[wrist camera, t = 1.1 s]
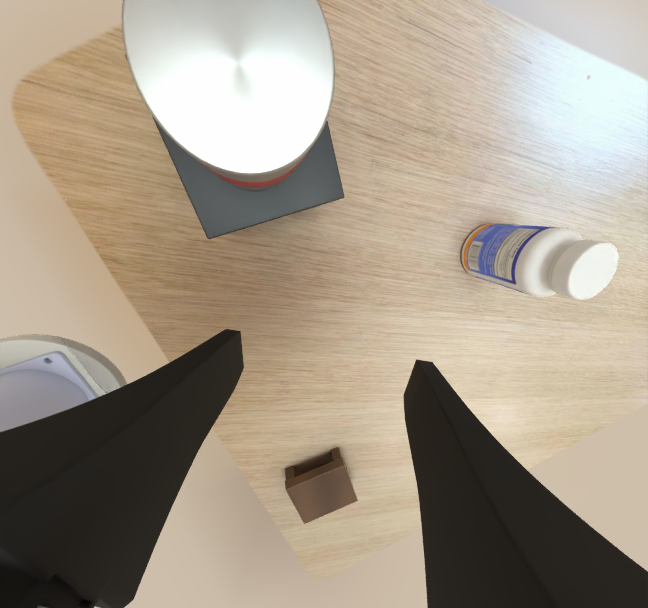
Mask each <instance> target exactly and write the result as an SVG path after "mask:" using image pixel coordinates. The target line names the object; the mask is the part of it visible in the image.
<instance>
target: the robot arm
mask: <svg viewBox="0 0 648 608" xmlns="http://www.w3.org/2000/svg"><path fill="white" fill-rule="evenodd" d="M48 358H50V359H51V360H52V361H50V360H49V359H48ZM243 369H244V365H243V354H242V344H241V333H240V331H235V330H229V329H226V330H224V331H222V332H220V333H219V334H217V335H215V336H214V337H212V338H210V339H209V340H207V341H206V342H204V343H202V344H201V345H199V346H197V347H196V348H194V349H192V350H191V351H189V352H187V353H186V354H184V355H182V356H181V357H179V358H177V359H175V360H174V361H172V362H170V363H168V364H166V365H165V366H163V367H161V368H159V369H157V370H156V371H154V372H152V373H150V374H148V375H146V376H144V377H142V378H140V379H138V380H136V381H134V382H132V383H130V384H127V385H125V386H123V387H121V388H119V389H117V390H114V391H112V392H110V393H107V394H105V395H102V396H100V397H99V396H98V395H97V394H96V393H95V391H94V390H93V389H92V388H91V386H90V385H89V384H88V383H87V382H86V380H85V379H84V378H83V377H82V376H81V374H80V373H79V372H78V371H77V369H76V368H75V367H74V366H73V365H72V363H71V362H70V361H69V360H68V359H67V357H66V356H65V355H64V354H63V353H62V352H60V351H53V352H50V353H47V354H44V355H41V356H38V357H35V358H32V359H29V360H26V361H23V362H20V363H17V364H14V365H11V366H8V367H5V368H2V369H0V608H94V607H95V606H97V607H100V608H124V607H125V606H126V605H128V604H129V603H130V602H131V601H132V600H133V599H134V597H135V595H136V592H137V589H138V586H139V584H140V582H141V579H142V576H143V574H144V572H145V569H146V567H147V564H148V562H149V559H150V557H151V554H152V552H153V549H154V547H155V544H156V542H157V540H158V538H159V535H160V533H161V530H162V528H163V526H164V523H165V521H166V519H167V517H168V514H169V512H170V510H171V507H172V505H173V503H174V501H175V499H176V497H177V494H178V492H179V490H180V488H181V486H182V484H183V481H184V479H185V477H186V475H187V473H188V471H189V469H190V467H191V465H192V463H193V460H194V458H195V456H196V454H197V452H198V450H199V449H200V447H201V445H202V443H203V441H204V439H205V438H206V436H207V434H208V433H209V431H210V430H211V428H212V426H213V425H214V423H215V421H216V420H217V418H218V416H219V415H220V413H221V411H222V410H223V408H224V406H225V405H226V403H227V401H228V399H229V398H230V396H231V394H232V393H233V391H234V389H235V387H236V385H237V383H238V380H239V378H240V376H241V373H242V371H243ZM404 411H405V422H406V428H407V433H408V439H409V444H410V449H411V454H412V460H413V465H414V470H415V476H416V481H417V487H418V494H419V502H420V513H421V523H422V533H423V546H424V558H425V572H426V587H427V603H428V608H648V572H647V571H646V570H645V569H644V568H642V567H641V566H640V565H638V564H637V563H636V562H634V561H633V560H632V559H630V558H629V557H628V556H627V555H625V554H624V553H623V552H621V551H620V550H619V549H618V548H617V547H615V546H614V545H613V544H612V543H610V542H609V541H608V540H607V539H605V538H604V537H603V536H602V535H600V534H599V533H598V532H597V531H595V530H594V529H593V528H592V527H591V526H589V525H588V524H587V523H586V522H585V521H583V520H582V519H581V518H580V517H579V516H578V515H576V514H575V513H574V512H573V511H571V510H570V509H569V508H568V507H567V506H566V505H565V504H563V503H562V502H561V501H560V500H559V499H558V498H557V497H555V495H553V494H552V493H551V492H550V491H549V490H548V489H546V487H544V486H543V485H542V484H541V483H540V482H539V481H538V480H537V479H536V478H535V477H533V476H532V475H531V474H530V473H529V472H528V471H527V470H526V469H525V468H524V467H523V466H522V465H521V464H520V463H519V462H518V461H517V460H516V459H515V458H514V457H513V456H512V455H511V454H510V453H509V452H508V451H507V450H506V449H505V448H504V447H503V446H502V445H501V444H500V443H499V442H498V441H497V440H496V439H495V438H494V437H493V435H492V434H491V433H490V432H489V431H488V430H487V429H486V428H485V427H484V425H483V424H482V423H481V422H480V421H479V420H478V419H477V418H476V416H475V415H474V414H473V413H472V412H471V411H470V409H469V408H468V407H467V406H466V405H465V403H464V402H463V401H462V400H461V398H460V397H459V396H458V395H457V393H456V392H455V391H454V390H453V388H452V387H451V386H450V384H449V383H448V382H447V381H446V379H445V378H444V377H443V375H442V374H441V373H440V371H439V370H438V369H437V368H436V366H435V365H434V364H433V362H428V361H422V360H416V362H415V365H414V368H413V370H412V373H411V376H410V379H409V382H408V385H407V387H406V390H405V393H404Z"/></svg>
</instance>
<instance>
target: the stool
mask: <svg viewBox="0 0 648 608" xmlns="http://www.w3.org/2000/svg"><path fill="white" fill-rule="evenodd" d="M331 454H332V457H333V462H330V463H328V464H325V465H323V466H321V467H318V468H316V469H313V470H311V471H308V472H306V473H304V474H301V475H299V476H296V471H295V469H294V467H293V466H291V467H289V468H287V469H285V473H286V481H285V487H286V491H287V493H288V495H289V496H290V498H291V500H292V502H293V504H294V506H295V508H296V509H297V511H298V513H299V515H300V517H301V519H302V520H303V522H304V524H305V523H308V522H310V521H312V520H315V519H317V518H319V517H322V516H324V515H326V514H328V513H331V512H333V511H335V510H338V509H340V508H342V507H345V506H347V505H349V504H351V503H354V502H356V501H358V500H357V497H356V494H355V491H354V488H353V485H352V483H351V480H350V477H349V475H348V472H347V469H346V466H345V464H344V461H343V458H342V457H341V454H340V451H339V448H336V449H333V450H331Z"/></svg>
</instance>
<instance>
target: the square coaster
mask: <svg viewBox="0 0 648 608" xmlns="http://www.w3.org/2000/svg"><path fill="white" fill-rule="evenodd" d="M125 56H126V55H125ZM126 59H127V57H126ZM153 119H154V117H153ZM154 121H155V123H156V125H157V128H158V130H159V132H160V134H161V136H162V139H163V141H164V143H165V145H166V147H167V150H168V152H169V154H170V156H171V158H172V161H173V163H174V165H175V167H176V170H177V172H178V174H179V176H180V178H181V181H182V183H183V185H184V187H185V189H186V192H187V194H188V196H189V198H190V201H191V203H192V205H193V207H194V209H195V212H196V214H197V216H198V218H199V220H200V223H201V225H202V227H203V229H204V232H205V234H206V236H207V238H208V239H212V238H215V237H218V236H221V235H225V234H228V233H231V232H234V231H238V230H241V229H244V228H247V227H251V226H254V225H257V224H260V223H264V222H267V221H270V220H273V219H277V218H280V217H283V216H286V215H290V214H293V213H296V212H299V211H303V210H306V209H309V208H313V207H316V206H319V205H322V204H326V203H329V202H332V201H335V200H339V199H342V198H344V193H343V189H342V184H341V180H340V175H339V171H338V166H337V162H336V158H335V153H334V149H333V144H332V140H331V135H330V131H329V126H328V122H327V121H326V123H325V126H324V128H323V130H322V132H321V134H320V135H319V137H318V139H317V140H316V142H315V143H314V144H313V146H312V147H311V148H310V150H309V151H308V153H307V154H306V156H305V157H304V158H303V160H302V161H301V162H300V164H299V165H298V166H297V168H296V169H295V170H294V171H293V172H292V173H291V175H290V176H289V177H288V178H287V179H286V180H285V181H284V182H283V183H281V184H280V185H278V186H276V187H275V188H272V189H269V190H265V191H248V190H243V189H240V188H237V187H235V186H233V185H231V184H230V183H228V182H227V181H225V180H224V179H222V178H221V177H219V176H218V175H216V174H215V173H213V172H212V171H211V170H209V169H208V168H206V167H205V166H204V165H202V164H201V163H200V162H199V161H198V160H196V159H195V158H194V157H192V156H191V155H190V154H188V153H187V152H186V151H185V150H183V149H182V148H181V147H180V146H179V145H177V144H176V143H175V142H174V141H173V140H172V139H171V138H170V137H169V136H168V135H167V134H166V133H165V131H164V130H163V129H162V128H161V126H160V125H159V124H158V123H157V121H156V120H155V119H154Z"/></svg>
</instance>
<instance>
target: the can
mask: <svg viewBox="0 0 648 608" xmlns="http://www.w3.org/2000/svg"><path fill="white" fill-rule="evenodd" d="M122 5H123V6H122V33H123V41H124V47H125V53H126V57H127V61H128V64H129V68H130V72H131V74H132V77H133V79H134V82H135V84H136V87H137V89H138V91H139V93H140V95H141V97H142V99H143V101H144V103H145V105H146V106H147V108H148V110H149V111H150V113H151V114H152V116H153V117H154V119H155V120H156V121H157V123H158V124H159V125H160V126H161V128H162V129H163V130H164V131H165V133H166V134H167V135H168V136H169V137H170V138H171V139H172V140H173V141H174V142H175V143H176V144H177V145H179V146H180V147H181V148H182V149H183V150H185V151H186V152H187V153H188V154H190V155H191V156H192V157H194V158H195V159H196V160H198V161H199V162H200V163H201V164H202V165H204V166H205V167H206V168H208V169H209V170H211V171H212V172H213V173H215V174H216V175H218V176H219V177H221V178H222V179H224V180H225V181H227V182H228V183H230V184H231V185H233V186H235V187H237V188H240V189H243V190H248V191H265V190H269V189H272V188H275V187H276V186H278V185H280V184H281V183H283V182H284V181H285V180H286V179H287V178H288V177H289V176H290V175H291V173H292V172H293V171H294V170H295V169H296V168H297V166H298V165H299V164H300V162H301V161H302V160H303V158H304V157H305V156H306V154H307V153H308V151H309V150H310V148H311V147H312V146H313V144H314V143H315V142H316V140H317V139H318V137H319V135H320V134H321V132H322V130H323V128H324V126H325V123H326V121H327V118H328V116H329V112H330V109H331V105H332V101H333V94H334V87H335V60H334V52H333V45H332V40H331V36H330V32H329V28H328V24H327V22H326V19H325V16H324V13H323V10H322V8H321V6H320V3H319V1H318V0H123V4H122Z"/></svg>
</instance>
